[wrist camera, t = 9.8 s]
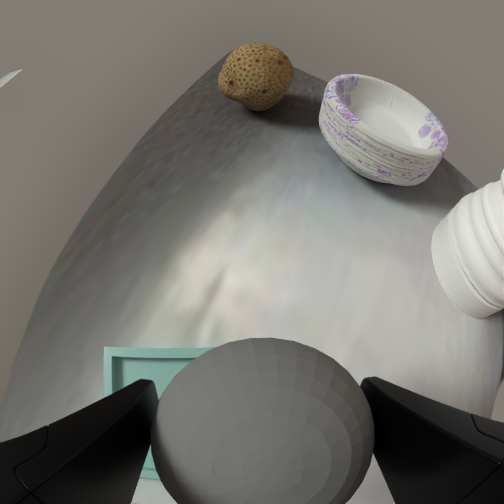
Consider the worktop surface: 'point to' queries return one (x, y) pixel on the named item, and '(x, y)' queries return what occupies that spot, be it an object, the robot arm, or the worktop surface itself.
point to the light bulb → (262, 427)
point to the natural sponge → (256, 76)
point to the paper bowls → (381, 130)
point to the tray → (145, 374)
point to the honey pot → (473, 251)
